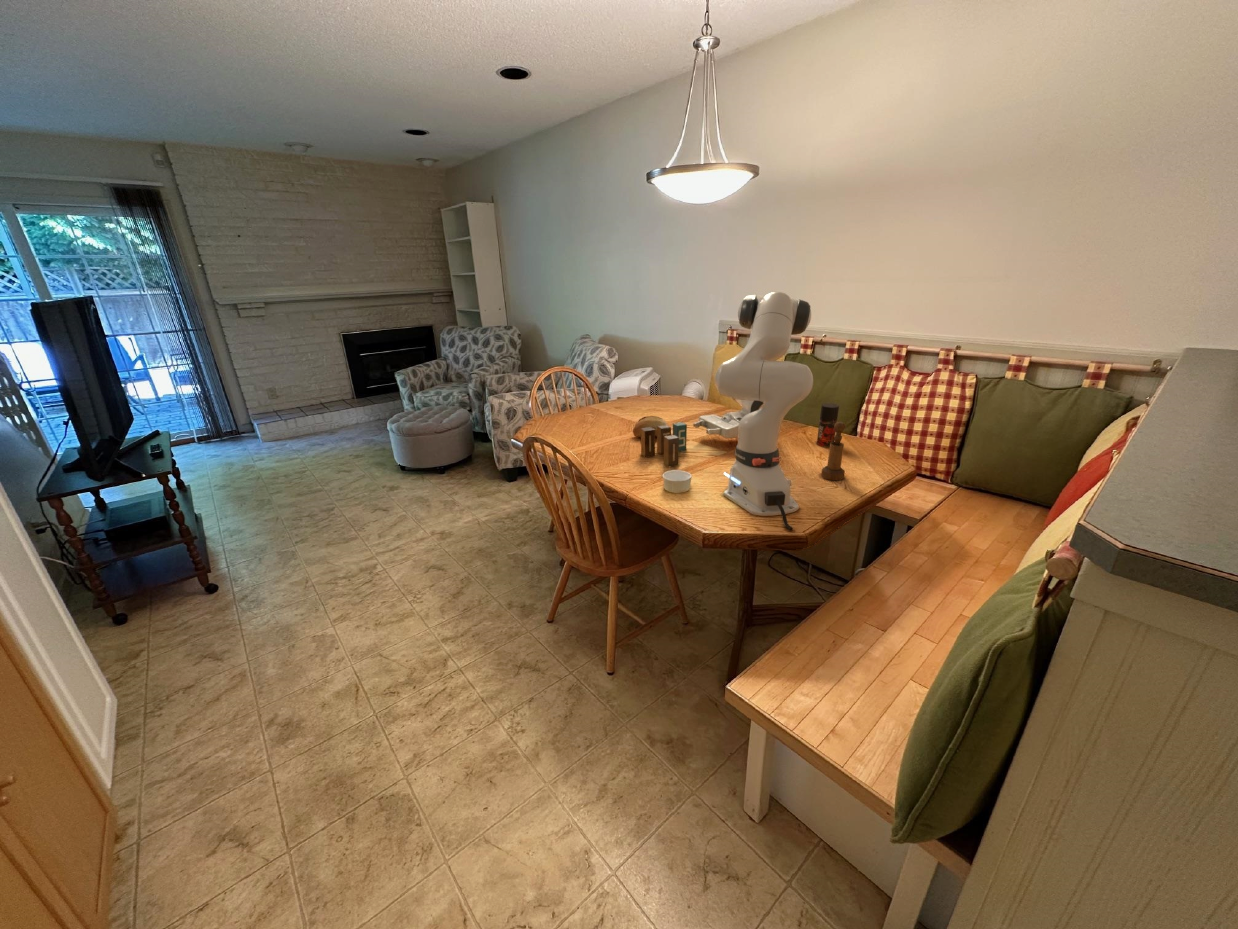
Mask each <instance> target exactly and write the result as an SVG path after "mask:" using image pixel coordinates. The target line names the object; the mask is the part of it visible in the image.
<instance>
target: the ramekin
mask: <svg viewBox="0 0 1238 929" xmlns="http://www.w3.org/2000/svg"><path fill="white" fill-rule="evenodd" d="M692 477H693V476H692V474H691V473H690V472H688V471H686V470H682V469H681V470H680V469H672V470H667V471H665V472H664V473H663V474H662V481H663V488H664V490H665V491H667V492H668V493H672V494H673V493H674V494H681V493H686V492H687V491H689V490H690V488H691V482H692Z"/></svg>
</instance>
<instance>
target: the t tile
mask: <svg viewBox="0 0 1238 929" xmlns="http://www.w3.org/2000/svg"><path fill="white" fill-rule="evenodd" d="M670 435H672V427H671V426H670V425H668V424H667V425H661V426H657V436H656V453H658V454H660V455H664V436H670Z"/></svg>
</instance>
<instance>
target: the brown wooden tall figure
mask: <svg viewBox="0 0 1238 929" xmlns="http://www.w3.org/2000/svg"><path fill="white" fill-rule="evenodd" d="M834 429H835V431H836V432H835V436H834V442H831V443H830V447H829V450H828V457H827V465H826V466H824V467H822V468H821V474H820V475H821V477H822V478H823V479H825V480H829V481H841V480H844V479H845V474H846V473H845V469H843V468H842V462H843V461H842V460H843V454H844V447H845V444H844V443H843V442H841V441H842V439H843V436H842V433H843V432H844V430H845V429H846V424H845V423H844V422H842V421H837V423H835V425H834Z"/></svg>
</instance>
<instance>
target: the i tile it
mask: <svg viewBox="0 0 1238 929" xmlns="http://www.w3.org/2000/svg"><path fill="white" fill-rule="evenodd" d="M640 455H641V456H643V457H644V458H649V457H655V456H656V436H655V429H653V428H651V427H648V428H641V437H640Z"/></svg>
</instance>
